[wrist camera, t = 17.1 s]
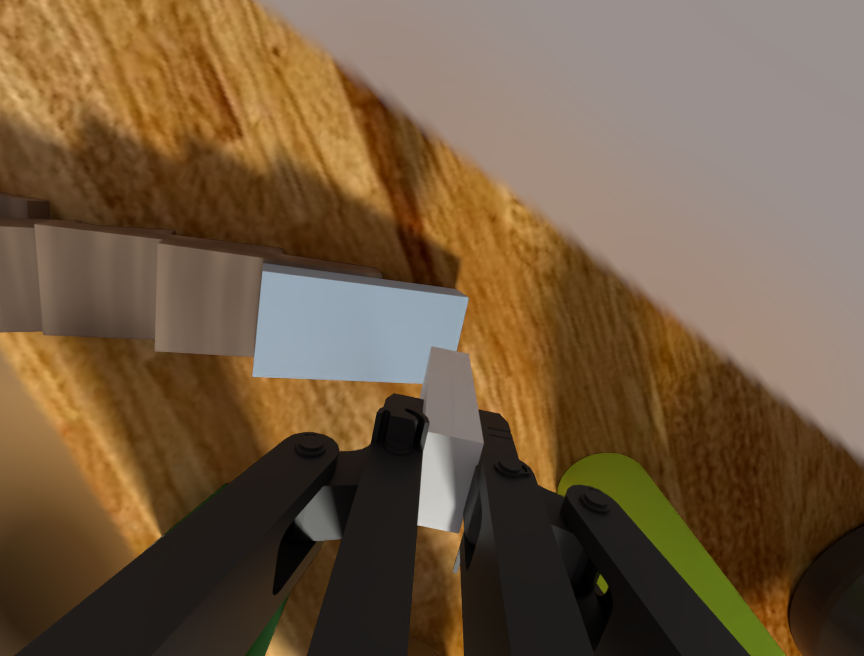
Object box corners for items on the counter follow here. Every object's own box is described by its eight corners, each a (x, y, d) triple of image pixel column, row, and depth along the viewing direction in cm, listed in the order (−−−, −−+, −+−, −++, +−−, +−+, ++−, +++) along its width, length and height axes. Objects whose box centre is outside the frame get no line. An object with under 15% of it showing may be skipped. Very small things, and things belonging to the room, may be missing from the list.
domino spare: (469, 297, 22) (262, 271, 18) (448, 384, 24) (252, 376, 20) (455, 288, 24) (262, 262, 20) (437, 370, 25) (253, 361, 21)
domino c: (169, 234, 22) (-108, 221, 18) (178, 328, 23) (-75, 334, 19) (175, 229, 23) (-79, 217, 19) (183, 317, 25) (-50, 321, 21)
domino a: (382, 274, 22) (157, 243, 18) (367, 363, 24) (154, 351, 20) (375, 267, 24) (166, 237, 20) (360, 351, 25) (163, 337, 21)
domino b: (283, 254, 22) (34, 224, 18) (275, 345, 23) (43, 335, 20) (282, 248, 24) (52, 219, 20) (275, 333, 25) (59, 322, 21)
